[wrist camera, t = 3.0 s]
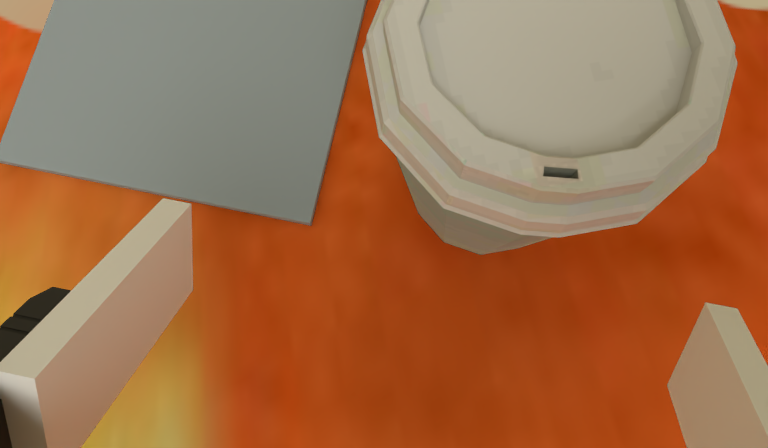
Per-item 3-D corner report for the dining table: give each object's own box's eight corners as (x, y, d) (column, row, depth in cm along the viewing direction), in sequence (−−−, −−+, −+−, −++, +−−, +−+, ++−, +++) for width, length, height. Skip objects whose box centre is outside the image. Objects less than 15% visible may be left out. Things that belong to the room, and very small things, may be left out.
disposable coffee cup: (386, 82, 33) (374, -158, 19) (601, 95, 33) (760, -140, 18) (368, 289, 31) (338, 198, 16) (601, 308, 30) (786, 231, 16)
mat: (400, -134, 36) (400, -141, 36) (311, 225, 32) (310, 223, 31) (127, -177, 38) (123, -184, 37) (0, 162, 33) (-6, 159, 32)
